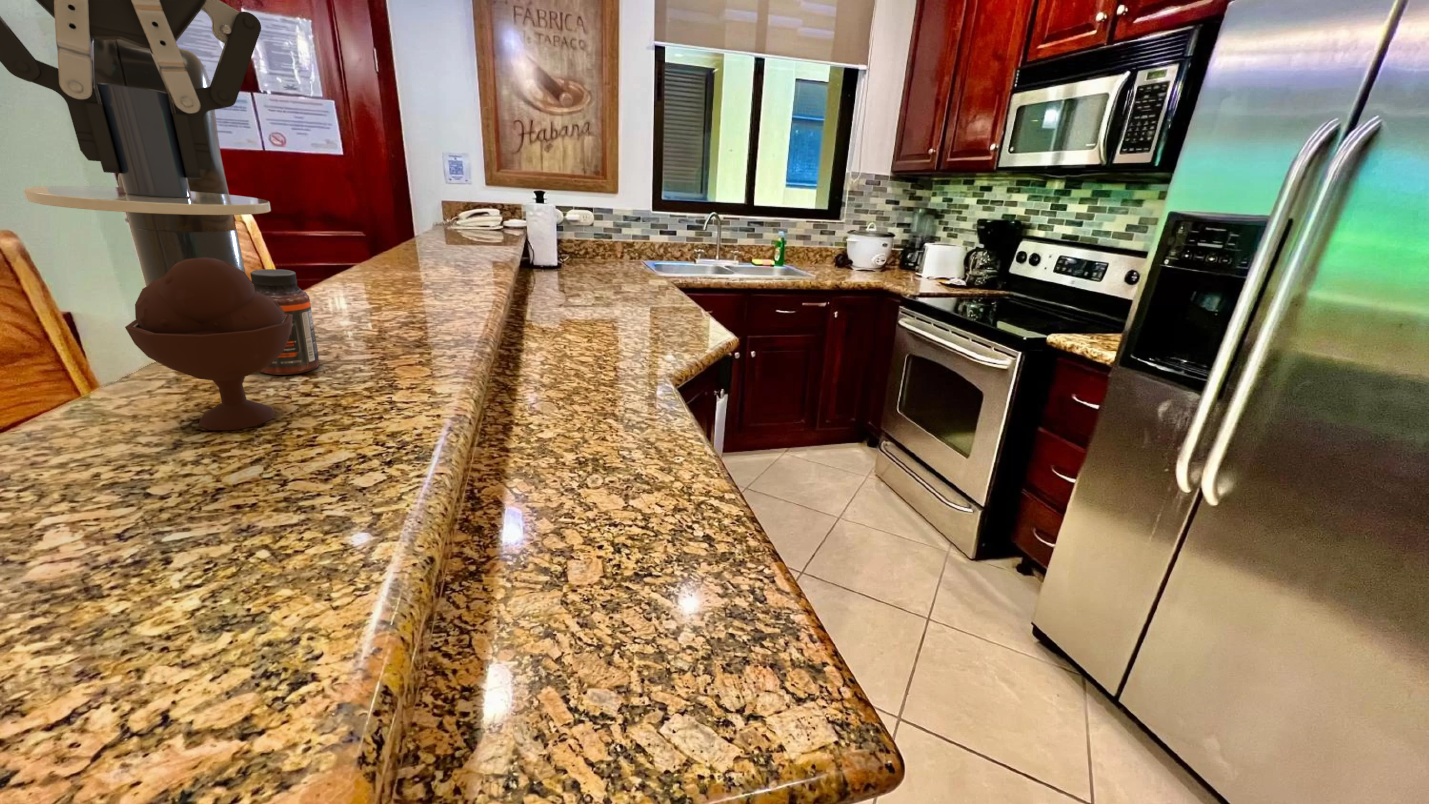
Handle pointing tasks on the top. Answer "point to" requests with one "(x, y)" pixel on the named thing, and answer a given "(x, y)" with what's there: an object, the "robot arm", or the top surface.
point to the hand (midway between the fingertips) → (153, 173)
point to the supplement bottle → (302, 338)
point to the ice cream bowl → (212, 333)
